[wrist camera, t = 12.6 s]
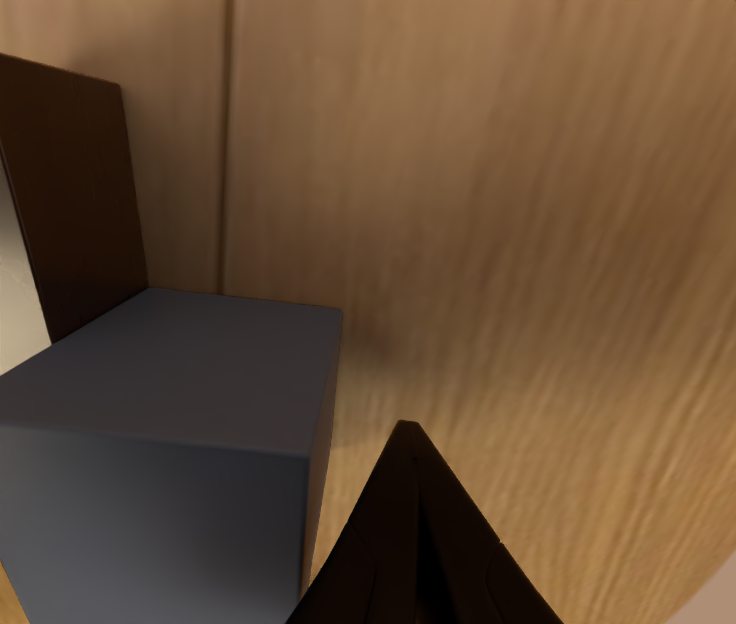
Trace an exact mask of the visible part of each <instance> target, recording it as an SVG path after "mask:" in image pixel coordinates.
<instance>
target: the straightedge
mask: <svg viewBox="0 0 736 624" xmlns="http://www.w3.org/2000/svg"><path fill="white" fill-rule="evenodd" d="M147 288H149V287H148V280H147V273H146V266H145V259H144V252H143V245H142V237H141V230H140V223H139V216H138V209H137V202H136V195H135V188H134V181H133V174H132V167H131V160H130V152H129V145H128V138H127V131H126V124H125V117H124V110H123V103H122V96H121V89H120V85H119V84H117V83H115V82H111V81H107V80H103V79H100V78H96V77H92V76H88V75H84V74H81V73H77V72H73V71H69V70H65V69H61V68H58V67H54V66H50V65H46V64H42V63H39V62H35V61H31V60H27V59H23V58H20V57H16V56H12V55H8V54H4V53H1V52H0V375H2V374H4V373H5V372H7V371H9V370H10V369H12V368H14V367H15V366H17V365H19V364H21V363H22V362H24V361H26V360H27V359H29V358H31V357H32V356H34V355H36V354H37V353H39V352H41V351H42V350H44V349H46V348H48V347H49V346H51V345H53V344H54V343H56V342H58V341H59V340H61V339H63V338H64V337H66V336H68V335H70V334H71V333H73V332H75V331H76V330H78V329H80V328H81V327H83V326H85V325H86V324H88V323H90V322H91V321H93V320H95V319H97V318H98V317H100V316H102V315H103V314H105V313H107V312H108V311H110V310H112V309H113V308H115V307H117V306H118V305H120V304H122V303H124V302H125V301H127V300H129V299H130V298H132V297H134V296H135V295H137V294H139V293H140V292H142V291H144V290H146V289H147Z"/></svg>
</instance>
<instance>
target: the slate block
mask: <svg viewBox="0 0 736 624" xmlns="http://www.w3.org/2000/svg"><path fill="white" fill-rule="evenodd" d="M342 318H343V311H342V310H341V309H336V308H328V307H319V306H310V305H302V304H293V303H284V302H276V301H267V300H258V299H250V298H241V297H232V296H224V295H215V294H206V293H197V292H189V291H180V290H171V289H163V288H154V287H150V288H147V289H146V290H144V291H142V292H140V293H139V294H137V295H135V296H134V297H132V298H130V299H129V300H127V301H125V302H124V303H122V304H120V305H118V306H117V307H115V308H113V309H112V310H110V311H108V312H107V313H105V314H103V315H102V316H100V317H98V318H97V319H95V320H93V321H91V322H90V323H88V324H86V325H85V326H83V327H81V328H80V329H78V330H76V331H75V332H73V333H71V334H70V335H68V336H66V337H64V338H63V339H61V340H59V341H58V342H56V343H54V344H53V345H51V346H49V347H48V348H46V349H44V350H42V351H41V352H39V353H37V354H36V355H34V356H32V357H31V358H29V359H27V360H26V361H24V362H22V363H21V364H19V365H17V366H15V367H14V368H12V369H10V370H9V371H7V372H5V373H4V374H2V375H0V561H1V563H2V565H3V567H4V569H5V572H6V574H7V576H8V578H9V580H10V582H11V584H12V587H13V589H14V591H15V593H16V595H17V597H18V599H19V602H20V604H21V606H22V608H23V610H24V612H25V614H26V617H27V619H28V621H29V623H30V624H285V622H286V621H287V619H288V618H289V616H290V615H291V613H292V612H293V610H294V609H295V607H296V606H297V605H298V603H299V602H300V600H301V599H302V597H303V596H304V594H305V593H306V591H307V590H308V584H309V578H310V572H311V566H312V559H313V553H314V547H315V541H316V535H317V529H318V523H319V516H320V510H321V504H322V498H323V492H324V486H325V480H326V473H327V467H328V461H329V455H330V446H331V435H332V424H333V414H334V403H335V392H336V382H337V371H338V360H339V350H340V339H341V328H342Z"/></svg>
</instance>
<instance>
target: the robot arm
mask: <svg viewBox="0 0 736 624" xmlns="http://www.w3.org/2000/svg"><path fill="white" fill-rule="evenodd" d="M499 542H500V539H499V537H498V536H497V534H496V533H495V532H494V530H493V529H492V527H491V526H490V524H489V523H488V522H487V520H486V519H485V517H484V516H483V514H482V513H481V512H480V510H479V509H478V507H477V506H476V504H475V503H474V502H473V500H472V499H471V497H470V496H469V494H468V493H467V492H466V490H465V489H464V487H463V486H462V484H461V483H460V482H459V480H458V479H457V477H456V476H455V474H454V473H453V471H452V470H451V469H450V467H449V466H448V464H447V463H446V461H445V460H444V459H443V457H442V456H441V454H440V453H439V451H438V450H437V449H436V447H435V446H434V444H433V443H432V441H431V440H430V439H429V437H428V436H427V434H426V433H425V431H424V430H423V429H422V427H421V426H420V424H419V423H418V422H414V421H406V420H398V421H397V423H396V425H395V427H394V429H393V431H392V433H391V435H390V437H389V439H388V441H387V443H386V445H385V447H384V449H383V451H382V453H381V455H380V457H379V459H378V461H377V463H376V465H375V467H374V469H373V471H372V473H371V475H370V477H369V479H368V481H367V483H366V485H365V487H364V489H363V491H362V493H361V495H360V497H359V499H358V501H357V503H356V505H355V507H354V509H353V511H352V513H351V515H350V517H349V519H348V521H347V523H346V524H345V526H344V528H343V530H342V532H341V534H340V536H339V538H338V540H337V542H336V544H335V546H334V547H333V549H332V551H331V553H330V555H329V557H328V558H327V560H326V562H325V563H324V565H323V567H322V568H321V570H320V571H319V573H318V574H317V576H316V578H315V579H314V581H313V582H312V584H311V586H310V587H309V588H308V590H307V591H306V593H305V594H304V596H303V597H302V599H301V600H300V602H299V603H298V605H297V606H296V607H295V609H294V610H293V612H292V613H291V615H290V616H289V618H288V619H287V621H286V622H285V624H564V623H563V622H562V621H561V620H560V619H559V617H558V616H557V615H556V614H555V612H554V611H553V610H552V609H551V607H550V606H549V605H548V604H547V602H546V601H545V600H544V599H543V597H542V596H541V595H540V594H539V592H538V591H537V590H536V588H535V587H534V586H533V585H532V583H531V582H530V580H529V579H528V578H527V576H526V575H525V574H524V572H523V571H522V570H521V568H520V567H519V565H518V564H517V563H516V561H515V560H514V559H513V557H512V556H511V554H510V553H509V551H508V550H507V549H506V547H505V546H504V544H503V543H499Z"/></svg>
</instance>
